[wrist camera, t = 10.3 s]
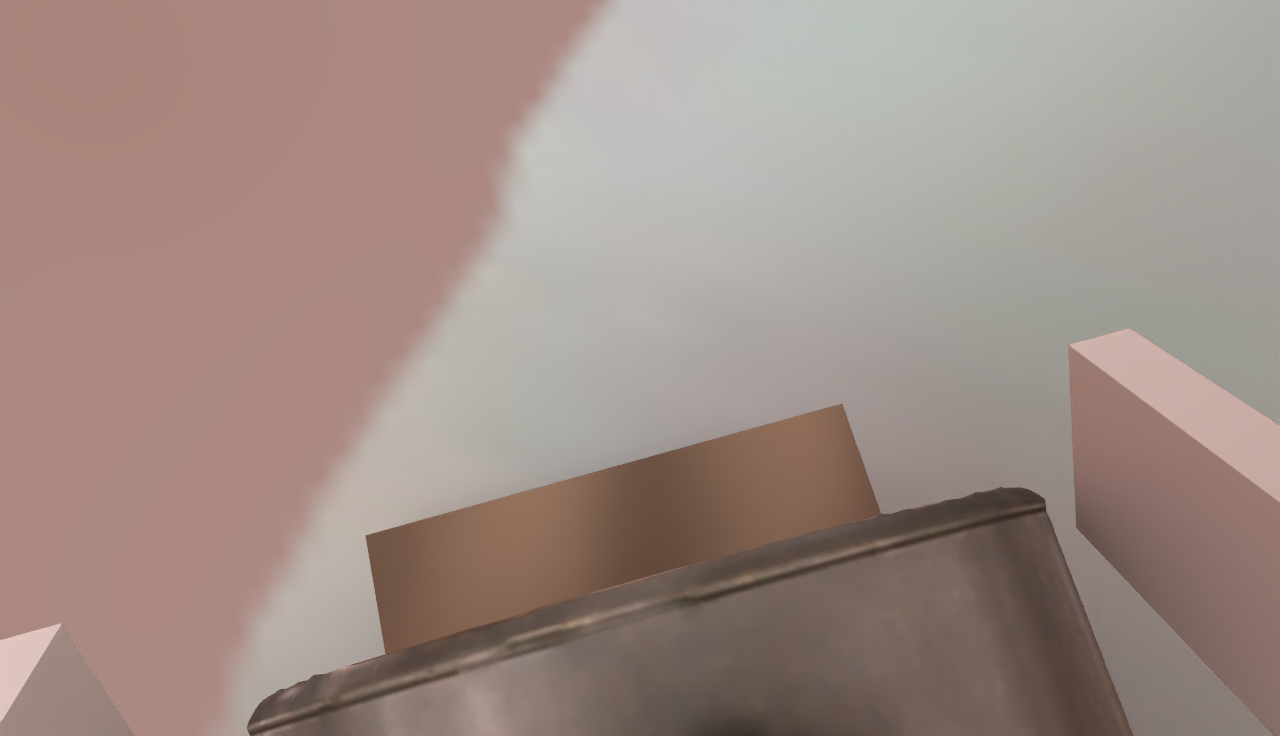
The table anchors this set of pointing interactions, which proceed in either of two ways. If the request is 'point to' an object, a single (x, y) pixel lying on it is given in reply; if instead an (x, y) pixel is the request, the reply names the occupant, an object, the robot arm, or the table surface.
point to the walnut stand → (617, 526)
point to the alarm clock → (766, 646)
